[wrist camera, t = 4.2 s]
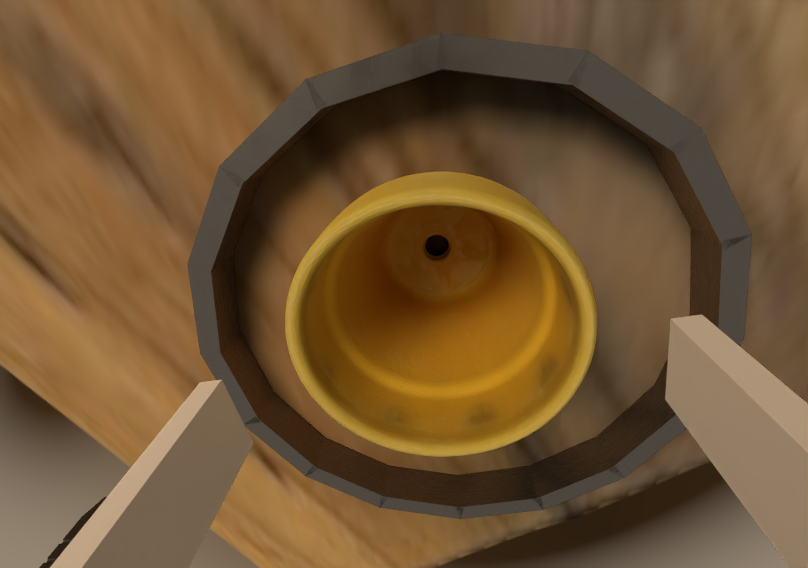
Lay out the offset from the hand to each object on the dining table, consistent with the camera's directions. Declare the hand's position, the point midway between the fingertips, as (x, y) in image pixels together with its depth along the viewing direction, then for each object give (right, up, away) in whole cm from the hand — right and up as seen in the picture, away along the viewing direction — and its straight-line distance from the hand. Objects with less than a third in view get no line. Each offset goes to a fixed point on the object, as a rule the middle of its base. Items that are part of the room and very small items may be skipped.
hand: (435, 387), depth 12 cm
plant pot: (+1, +5, +10) cm, 11 cm away
